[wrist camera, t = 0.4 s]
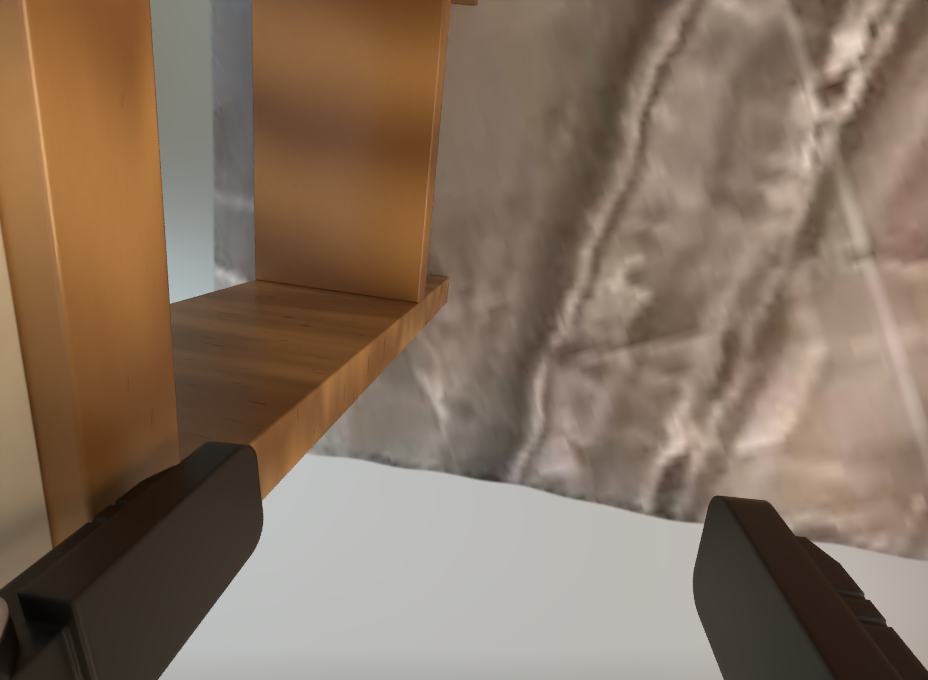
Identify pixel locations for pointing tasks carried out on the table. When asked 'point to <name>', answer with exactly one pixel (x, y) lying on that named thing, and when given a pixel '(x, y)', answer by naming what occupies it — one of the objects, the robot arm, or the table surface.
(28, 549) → the beige trivet
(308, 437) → the oak stand
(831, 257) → the table surface
